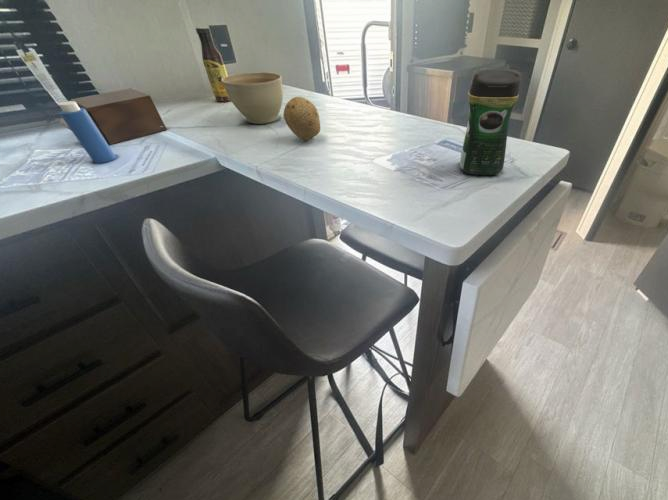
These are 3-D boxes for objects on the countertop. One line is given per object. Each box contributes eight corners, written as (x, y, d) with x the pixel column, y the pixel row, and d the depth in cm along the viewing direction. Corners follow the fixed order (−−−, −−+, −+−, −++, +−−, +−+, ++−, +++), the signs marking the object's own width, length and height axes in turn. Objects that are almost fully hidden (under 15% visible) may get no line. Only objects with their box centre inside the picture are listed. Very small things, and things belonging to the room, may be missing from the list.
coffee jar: (499, 162, 74) (520, 65, 60) (503, 177, 68) (528, 74, 55) (458, 161, 74) (470, 64, 61) (459, 175, 69) (472, 73, 55)
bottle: (97, 164, 74) (57, 107, 65) (90, 159, 76) (50, 103, 67) (119, 158, 76) (82, 102, 68) (111, 154, 78) (75, 98, 70)
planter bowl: (290, 126, 92) (280, 82, 85) (232, 130, 90) (216, 85, 82) (290, 110, 103) (281, 70, 96) (239, 113, 101) (225, 72, 93)
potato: (292, 134, 87) (282, 92, 80) (324, 133, 88) (317, 91, 81) (287, 146, 81) (276, 102, 74) (322, 145, 82) (314, 101, 75)
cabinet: (110, 144, 83) (87, 107, 77) (93, 134, 88) (70, 99, 82) (167, 129, 91) (149, 95, 85) (148, 121, 96) (130, 88, 90)
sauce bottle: (212, 101, 111) (184, 27, 96) (223, 97, 115) (198, 25, 101) (229, 103, 110) (203, 28, 95) (239, 98, 114) (216, 26, 100)
